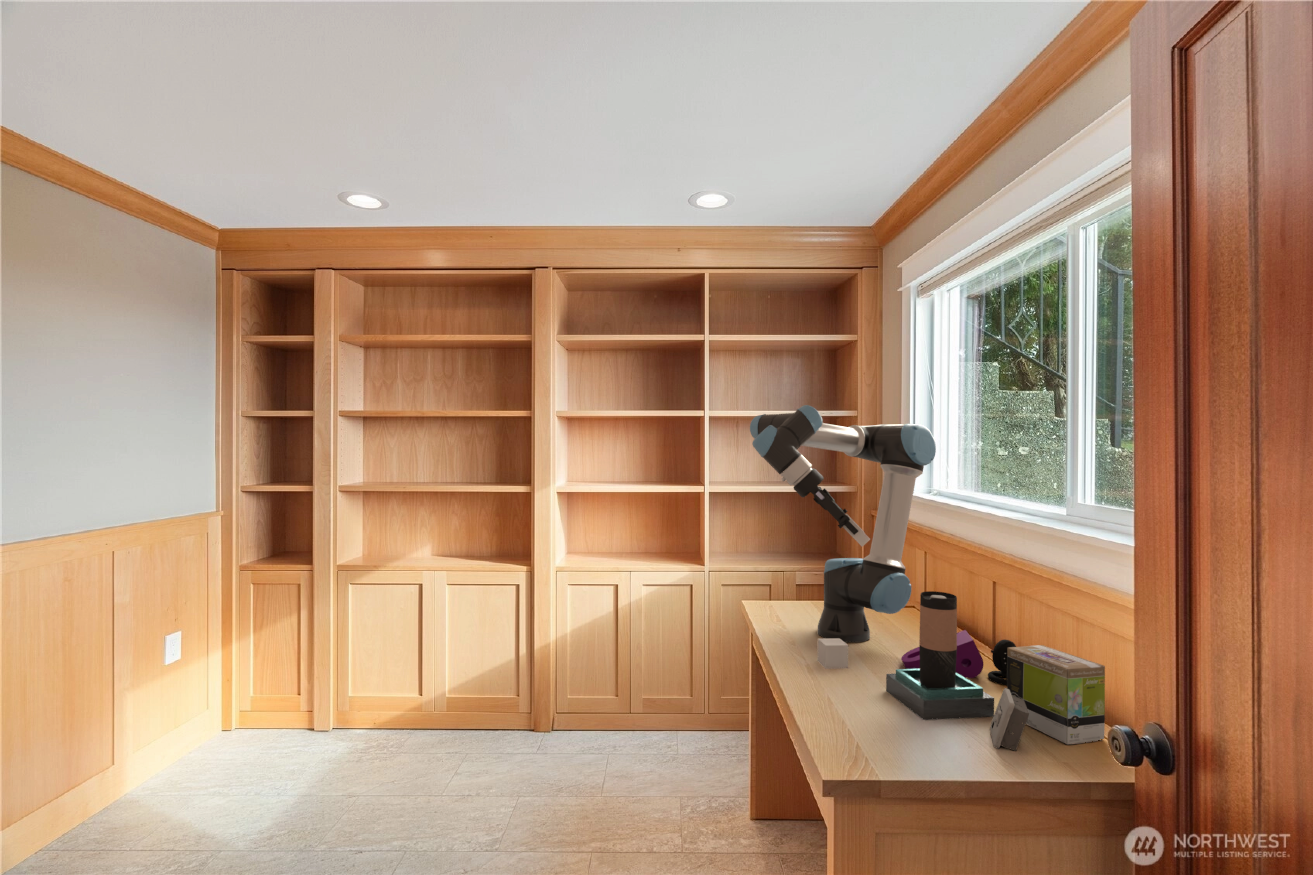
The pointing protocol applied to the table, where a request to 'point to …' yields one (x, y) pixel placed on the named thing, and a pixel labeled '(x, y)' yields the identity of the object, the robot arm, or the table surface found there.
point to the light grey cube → (832, 653)
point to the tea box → (1059, 692)
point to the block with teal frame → (939, 697)
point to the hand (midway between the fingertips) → (863, 539)
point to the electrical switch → (1008, 721)
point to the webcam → (1000, 661)
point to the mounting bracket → (966, 657)
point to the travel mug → (938, 639)
